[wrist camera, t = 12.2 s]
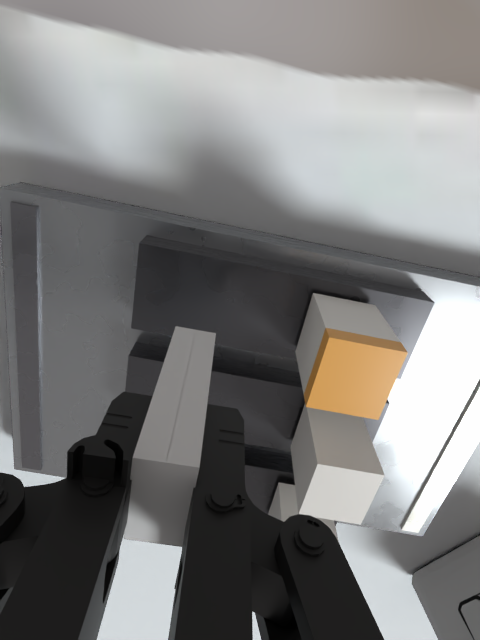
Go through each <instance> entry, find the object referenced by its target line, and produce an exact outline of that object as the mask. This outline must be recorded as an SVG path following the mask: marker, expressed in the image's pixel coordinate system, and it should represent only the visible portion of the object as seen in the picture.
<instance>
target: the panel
mask: <svg viewBox="0 0 480 640" xmlns="http://www.w3.org/2000/svg"><path fill="white" fill-rule="evenodd" d="M0 217H1V235H2V253H3V271H4V290H5V308H6V326H7V344H8V362H9V380H10V399H11V417H12V435H13V453H14V469H17V470H23V471H29V472H35V473H41V474H47V475H53V476H59V477H65V478H67V451H68V450H69V449H70V448H71V447H72V445H73V444H74V443H76V442H78V441H79V440H81V439H83V438H85V437H89V436H93V435H96V433H97V431H98V429H99V427H100V425H101V423H102V421H103V419H104V416H105V415H106V412H107V410H108V408H109V406H110V404H111V402H112V400H113V399H115V398H116V397H117V396H119V395H120V394H121V393H122V392H130V393H136V394H143V395H149V396H153V394H154V391H155V388H156V385H157V382H158V379H159V376H160V373H161V369H162V366H163V363H164V360H165V357H166V354H167V351H168V348H169V345H170V342H171V339H172V336H173V333H174V330H175V327H176V326H178V327H183V328H189V329H195V330H200V331H206V332H212V333H216V337H215V345H214V354H213V362H212V370H211V378H210V386H209V394H208V403H207V404H211V405H218V406H224V407H230V408H236V409H238V410H239V412H240V414H241V416H242V417H243V419H244V443H245V444H244V446H245V488H246V492H247V495H248V497H249V499H250V500H251V501H252V503H253V504H254V505H255V506H256V507H257V508H259V509H260V510H261V511H263V512H265V513H266V514H268V513H269V510H270V507H271V504H272V501H273V498H274V495H275V492H276V489H277V486H278V483H285V484H291V485H295V481H294V472H293V464H292V455H291V444H292V441H293V438H294V435H295V432H296V429H297V426H298V423H299V420H300V417H301V414H302V411H303V408H304V405H305V399H304V394H303V389H302V384H301V378H300V373H299V368H298V363H297V357H296V352H295V351H296V348H297V345H298V341H299V338H300V335H301V331H302V328H303V325H304V321H305V318H306V315H307V311H308V308H309V305H310V301H311V298H312V295H313V293H316V294H321V295H326V296H331V297H336V298H341V299H347V300H352V301H357V302H362V303H367V304H372V305H376V307H377V308H378V310H379V311H380V313H381V314H382V316H383V317H384V319H385V320H386V321H387V323H388V324H389V326H390V327H391V329H392V330H393V332H394V333H395V335H396V336H397V337H398V339H399V340H400V342H401V343H402V345H403V346H404V348H405V349H406V351H407V352H408V354H407V356H406V358H405V360H404V363H403V365H402V367H401V369H400V372H399V374H398V376H397V379H396V381H395V383H394V385H393V388H392V390H391V392H390V395H389V397H388V399H387V401H386V404H385V406H384V408H383V410H382V413H381V415H380V417H379V420H375V419H370V418H364V417H363V419H364V422H365V425H366V427H367V430H368V433H369V435H370V438H371V441H372V443H373V446H374V449H375V451H376V454H377V456H378V459H379V462H380V464H381V467H382V470H383V472H384V475H385V476H384V478H383V480H382V482H381V484H380V486H379V488H378V490H377V492H376V494H375V497H374V499H373V501H372V503H371V505H370V507H369V509H368V511H367V513H366V515H365V517H364V519H363V521H362V523H361V525H359V524H353V523H347V522H341V521H335V520H334V523H335V526H336V524H337V522H338V523H344V524H350V525H356V526H362V527H368V528H374V529H381V530H387V531H393V532H399V533H405V534H411V535H417V536H423V535H424V533H425V532H426V530H427V528H428V527H429V525H430V523H431V522H432V520H433V518H434V516H435V515H436V513H437V511H438V510H439V508H440V506H441V505H442V503H443V501H444V500H445V498H446V496H447V495H448V493H449V491H450V489H451V488H452V486H453V484H454V483H455V481H456V479H457V478H458V476H459V474H460V473H461V471H462V469H463V467H464V466H465V464H466V462H467V461H468V459H469V457H470V456H471V454H472V452H473V451H474V449H475V447H476V446H477V444H478V442H479V440H480V277H475V276H471V275H466V274H461V273H456V272H451V271H446V270H442V269H437V268H432V267H427V266H422V265H417V264H413V263H408V262H403V261H398V260H393V259H388V258H384V257H379V256H374V255H369V254H364V253H359V252H355V251H350V250H345V249H340V248H335V247H330V246H326V245H321V244H316V243H311V242H306V241H301V240H297V239H292V238H287V237H282V236H277V235H272V234H268V233H263V232H258V231H253V230H248V229H243V228H239V227H234V226H229V225H224V224H219V223H214V222H210V221H205V220H200V219H195V218H190V217H185V216H181V215H176V214H171V213H166V212H161V211H156V210H152V209H147V208H142V207H137V206H132V205H127V204H123V203H118V202H113V201H108V200H103V199H98V198H94V197H89V196H84V195H79V194H74V193H69V192H65V191H60V190H55V189H50V188H45V187H40V186H36V185H31V184H26V183H17V184H13V185H9V186H4V187H0Z"/></svg>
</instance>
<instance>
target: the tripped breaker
mask: <svg viewBox="0 0 480 640" xmlns="http://www.w3.org/2000/svg"><path fill="white" fill-rule="evenodd" d="M295 352H296V357H297V363H298V368H299V373H300V378H301V384H302V389H303V394H304V399H305V405H306V407H309V408H314V409H320V410H325V411H331V412H337V413H342V414H348V415H353V416H359V417H364V418H370V419H375V420H379V417H380V415H381V413H382V410H383V408H384V406H385V404H386V401H387V399H388V397H389V395H390V392H391V390H392V388H393V385H394V383H395V381H396V379H397V376H398V374H399V372H400V369H401V367H402V365H403V363H404V360H405V358H406V356H407V354H408V352H407V351H406V349H405V348H404V346H403V345H402V343H401V342H400V340H399V339H398V337H397V336H396V335H395V333H394V332H393V330H392V329H391V327H390V326H389V324H388V323H387V321H386V320H385V319H384V317H383V316H382V314H381V313H380V311H379V310H378V308H377V307H376V305H372V304H367V303H362V302H357V301H352V300H347V299H341V298H336V297H331V296H326V295H321V294H316V293H313V295H312V298H311V301H310V305H309V308H308V311H307V315H306V318H305V321H304V325H303V328H302V331H301V335H300V338H299V341H298V345H297V348H296V351H295Z"/></svg>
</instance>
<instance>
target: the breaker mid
mask: <svg viewBox="0 0 480 640" xmlns="http://www.w3.org/2000/svg"><path fill="white" fill-rule="evenodd" d="M291 455H292V464H293V472H294V481H295V489H296V498H297V506H298V514H303V515H310V516H312V517H317V518H323V519H329V520H335V521H341V522H347V523H353V524H359V525H361V523H362V521H363V519H364V517H365V515H366V513H367V511H368V509H369V507H370V505H371V503H372V501H373V499H374V497H375V494H376V492H377V490H378V488H379V486H380V484H381V482H382V480H383V478H384V476H385V475H384V472H383V470H382V467H381V464H380V462H379V459H378V456H377V454H376V451H375V449H374V446H373V443H372V441H371V438H370V435H369V433H368V430H367V427H366V425H365V422H364V419H363V417H359V416H353V415H348V414H342V413H337V412H331V411H325V410H320V409H314V408H309V407H306V405H304V408H303V411H302V414H301V417H300V420H299V423H298V426H297V429H296V432H295V435H294V438H293V441H292V444H291Z"/></svg>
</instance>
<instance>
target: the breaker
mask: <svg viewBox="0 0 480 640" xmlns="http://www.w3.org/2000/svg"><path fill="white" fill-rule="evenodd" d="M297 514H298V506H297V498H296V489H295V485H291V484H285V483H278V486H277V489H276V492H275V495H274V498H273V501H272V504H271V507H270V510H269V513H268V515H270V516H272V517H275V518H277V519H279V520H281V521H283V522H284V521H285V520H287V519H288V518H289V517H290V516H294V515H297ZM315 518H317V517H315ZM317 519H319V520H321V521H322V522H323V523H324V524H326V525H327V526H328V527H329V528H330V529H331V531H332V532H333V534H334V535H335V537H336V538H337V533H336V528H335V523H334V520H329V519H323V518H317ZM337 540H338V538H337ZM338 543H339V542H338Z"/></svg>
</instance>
